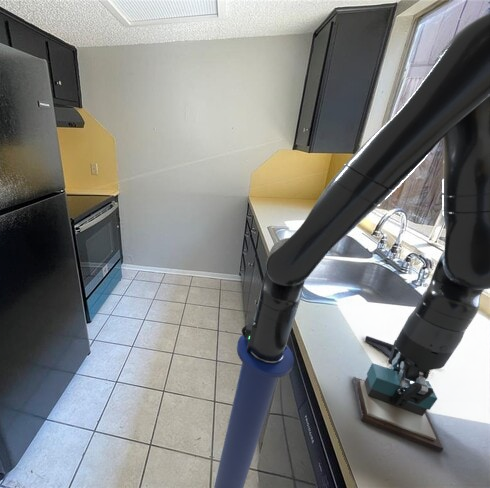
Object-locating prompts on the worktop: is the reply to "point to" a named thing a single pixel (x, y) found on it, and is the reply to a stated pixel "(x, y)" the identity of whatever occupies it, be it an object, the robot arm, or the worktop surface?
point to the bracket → (380, 345)
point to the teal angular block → (393, 388)
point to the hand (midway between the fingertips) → (393, 394)
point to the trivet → (395, 418)
